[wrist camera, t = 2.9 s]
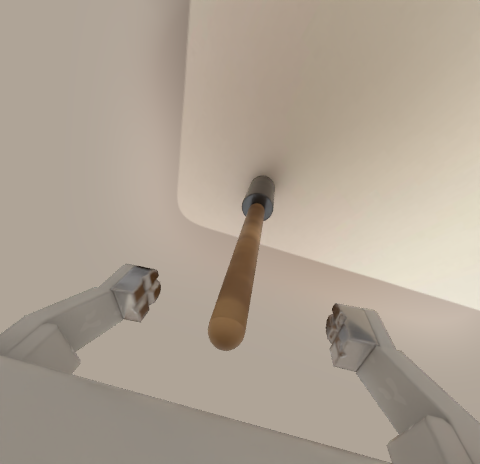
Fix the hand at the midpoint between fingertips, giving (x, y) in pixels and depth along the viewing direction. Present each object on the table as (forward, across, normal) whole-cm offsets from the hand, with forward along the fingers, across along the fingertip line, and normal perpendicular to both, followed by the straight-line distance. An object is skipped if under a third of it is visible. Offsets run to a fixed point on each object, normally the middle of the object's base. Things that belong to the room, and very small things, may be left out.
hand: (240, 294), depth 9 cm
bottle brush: (+16, 0, 0) cm, 16 cm away
